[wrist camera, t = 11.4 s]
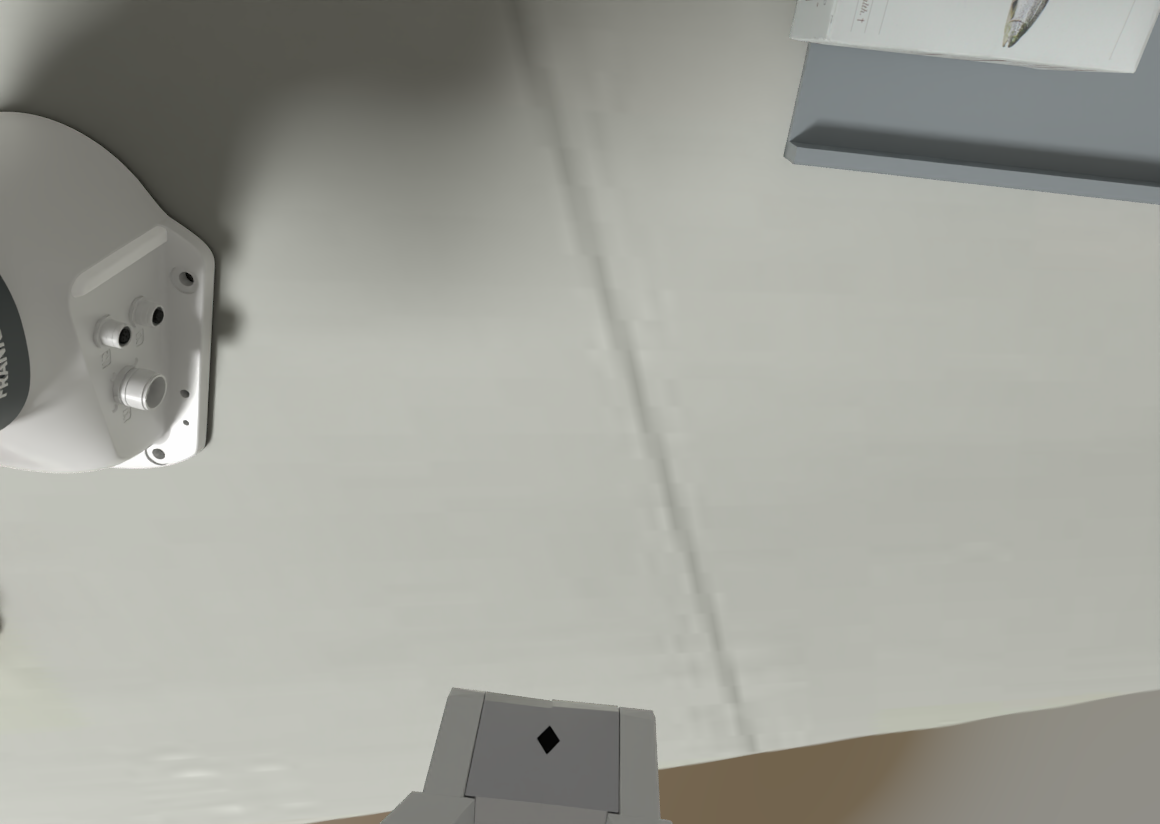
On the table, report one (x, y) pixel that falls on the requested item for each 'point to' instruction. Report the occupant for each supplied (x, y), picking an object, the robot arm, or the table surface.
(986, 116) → the tray
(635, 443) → the table surface
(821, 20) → the supplement box
